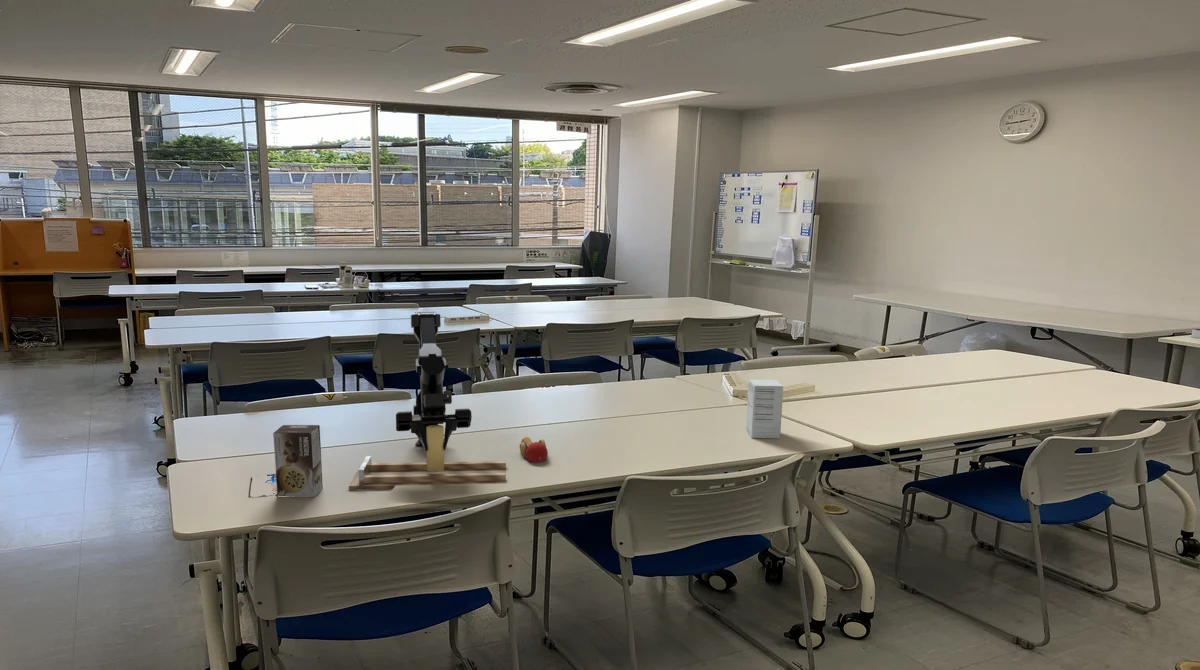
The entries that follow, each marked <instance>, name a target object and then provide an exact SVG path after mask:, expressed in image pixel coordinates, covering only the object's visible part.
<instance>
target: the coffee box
mask: <svg viewBox="0 0 1200 670" xmlns="http://www.w3.org/2000/svg"><path fill="white" fill-rule="evenodd" d="M272 435H273V448H274V450H273V451H274V461H275V462H274V463H275V464H274V465H275V474H276V483H277V495H276V497H277V496H290V497H289V498H315V497H317V495H318V494H319V493H320V492H321V491H322V490H323V488H324V486H323V485H324V484H323V469H322V468H323V467H322V449H321V448H322V447H321V426H320V424H283V425H281V426H280V427H278V429H277V430H275V431H274V432H273V433H272ZM292 496H294V497H292Z"/></svg>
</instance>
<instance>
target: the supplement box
mask: <svg viewBox="0 0 1200 670" xmlns="http://www.w3.org/2000/svg"><path fill="white" fill-rule="evenodd" d="M747 386H748V387H747V407H746V424H745V431H746V433H748V435H749V436H750V438H751V439H778V440H780V439H781V431H782V417H783V416H782V415H783V414H782V413H783V410H782V409H783V399H784V397H783V396H784V386H783V385H782V384H781V383H780V382H779V381H778V380H777V379H748V385H747Z"/></svg>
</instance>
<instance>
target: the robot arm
mask: <svg viewBox="0 0 1200 670" xmlns="http://www.w3.org/2000/svg"><path fill="white" fill-rule="evenodd" d="M441 323H442V321H441V314H440V313H437V312H436V311H414V314H411V315H410V328H411V329H412V328H413V331H412V332H413V336H414V337H415V339H416V340H417V342H418V348H419V349H418V351H417V355H418V356H417V357H418V358H415V371H416V373H418V375H419V380H420V381H419V382H420V383H419V384H420V391H419V392H418V395H417V396H416V398H415V404H413V406H412V407H413V409H412V410H413V411H411V410H410V411H409V410H407V411H406V410H405V411H397V412H396V414H395V431H396V432H408V431H409V432H410V433H411V434H415V435H416V436H417V438H418V440H417V441H416V442H415V443H414V446H415V447H419V446H420V447H422V448H423V449H424V451H425V452H427V426H430V425H444V424H445V426H444V451H446V450H447V446H448V442H449V440H450V437H451V435H452V433H453V432H455V431H457V429H464V428H465V429H466V428H467V429H468V428H469V427H471V424H472V418H473V416H472V410H471V409H470V408H456V409H455V410H454V413H453V414H452V413H450V414H446V408H447V407H446V405H451V404H453V403H452V401H453V398H452V395H453V394H452V390H444V383H443V381H444V378H445V377H444V376H445V372H446V371H447V370H448V369H449V363H448V361H446V357H444V356H443V351H442V349H441V348H440V347H438V346H437V345H438V344H437V335H438V332H439V328H441Z"/></svg>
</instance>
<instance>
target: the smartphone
mask: <svg viewBox="0 0 1200 670" xmlns="http://www.w3.org/2000/svg"><path fill="white" fill-rule="evenodd" d="M270 474H271V475H270ZM270 474H266V475H267V476H272V477H271V479H269V480H267V481H266V482H265V483H268V485H269V484H271V486H270V487H273V488H272V489H273V490H272V491H274V490H275V491H274V492H275V493H277V483H276V473H270ZM275 493H273V494H275Z"/></svg>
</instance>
